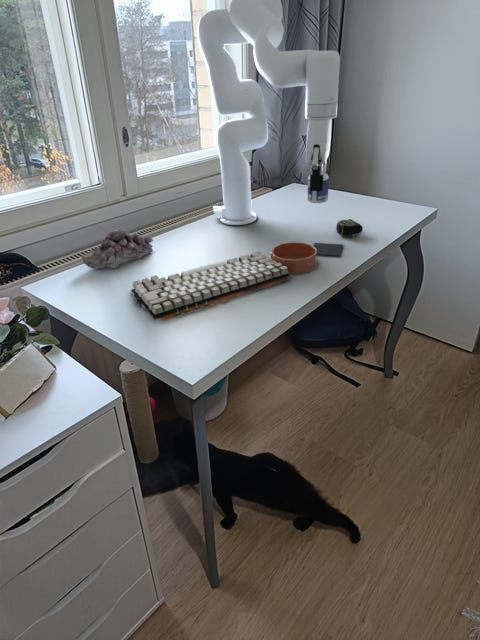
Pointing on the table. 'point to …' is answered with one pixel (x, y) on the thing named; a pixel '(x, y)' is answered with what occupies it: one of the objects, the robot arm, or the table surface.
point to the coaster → (328, 249)
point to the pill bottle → (319, 195)
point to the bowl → (295, 256)
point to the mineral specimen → (118, 250)
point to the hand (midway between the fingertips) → (317, 186)
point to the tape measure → (348, 227)
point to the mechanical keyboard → (207, 285)
